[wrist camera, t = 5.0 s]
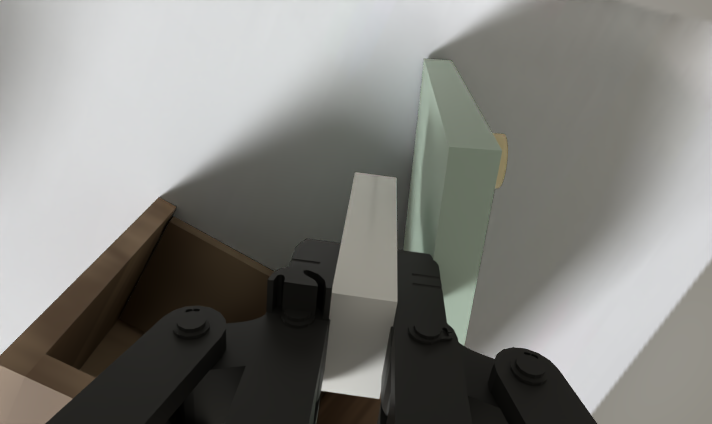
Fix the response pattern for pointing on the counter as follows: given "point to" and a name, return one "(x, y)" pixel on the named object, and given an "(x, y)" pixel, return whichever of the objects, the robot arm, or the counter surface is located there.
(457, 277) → the cabinet door
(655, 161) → the counter surface
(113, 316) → the walnut cabinet
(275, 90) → the counter surface
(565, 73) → the counter surface
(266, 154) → the counter surface
